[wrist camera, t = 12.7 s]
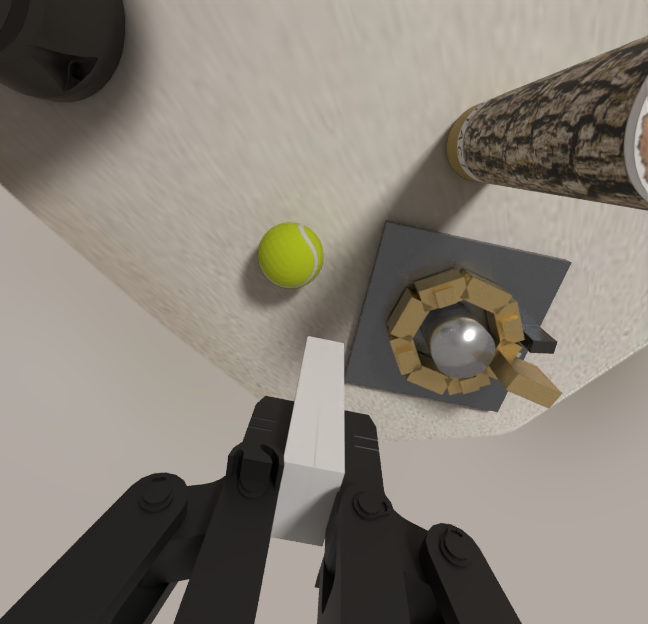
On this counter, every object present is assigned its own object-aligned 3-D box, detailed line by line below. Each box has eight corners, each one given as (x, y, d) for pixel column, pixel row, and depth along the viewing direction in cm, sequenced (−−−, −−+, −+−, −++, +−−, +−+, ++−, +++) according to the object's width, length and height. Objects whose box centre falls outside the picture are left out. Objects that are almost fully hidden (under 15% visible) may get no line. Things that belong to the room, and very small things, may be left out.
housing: (344, 376, 46) (344, 412, 39) (385, 220, 38) (394, 233, 32) (494, 406, 47) (518, 446, 40) (565, 259, 39) (610, 280, 32)
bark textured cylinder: (529, 114, 34) (926, 21, 11) (497, 188, 36) (762, 239, 13) (461, 94, 33) (722, -48, 10) (434, 170, 36) (594, 190, 13)
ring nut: (369, 352, 43) (375, 391, 36) (427, 251, 38) (447, 273, 31) (486, 401, 45) (513, 448, 38) (555, 312, 40) (603, 346, 32)
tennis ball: (336, 255, 40) (335, 272, 34) (290, 288, 42) (281, 310, 36) (300, 204, 38) (291, 213, 32) (252, 241, 40) (236, 256, 34)
